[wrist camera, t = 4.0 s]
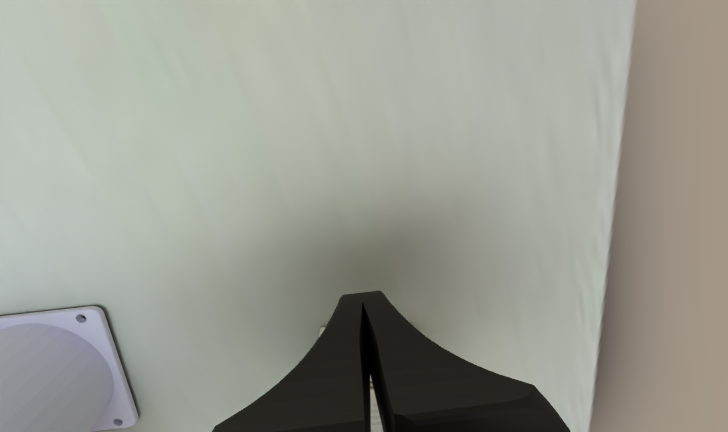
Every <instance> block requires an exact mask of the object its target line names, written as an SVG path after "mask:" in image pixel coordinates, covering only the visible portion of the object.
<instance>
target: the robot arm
mask: <svg viewBox="0 0 728 432" xmlns="http://www.w3.org/2000/svg"><path fill="white" fill-rule="evenodd" d="M81 315H84V316H85V317H86V319H84V318H83V317H82V316H81ZM370 375H371V380H372V384H373V389H374V393H375V397H376V402H377V406H378V410H379V415H380V419H381V423H382V428H383V432H570V430H569V428H568V427H567V426H566V424H565V423H564V421H563V420H562V419H561V417H560V416H559V414H558V413H557V412H556V410H555V409H554V408H553V407H552V405H551V404H550V403H549V402H548V401H547V400H546V398H545V397H544V396H543V395H542V394H541V393H540V392H539V391H538V389H537V388H536V387H535V386H534V385H532V384H528V383H525V382H522V381H519V380H515V379H512V378H509V377H506V376H502V375H499V374H496V373H494V372H491V371H489V370H486V369H484V368H481V367H479V366H477V365H474V364H472V363H470V362H468V361H466V360H464V359H462V358H460V357H458V356H456V355H454V354H452V353H450V352H449V351H447V350H445V349H444V348H442V347H440V346H439V345H437V344H436V343H434V342H433V341H431V340H430V339H428V338H427V337H426V336H424V335H423V334H422V333H421V332H419V331H418V330H417V329H416V328H415V327H414V326H413V325H411V324H410V323H409V322H408V321H407V320H406V319H405V318H404V317H403V316H402V315H401V314H400V313H399V312H398V311H397V310H396V309H395V307H394V306H393V305H392V304H391V303H390V302H389V300H388V299H387V298H386V297H385V295H384V294H383V293H382V292H381V291H373V292H364V293H356V294H347V295H342V297H341V298H340V300H339V302H338V305H337V307H336V309H335V311H334V313H333V315H332V317H331V319H330V321H329V322H328V324H327V326H326V328H325V329H324V331H323V332H322V334H321V335H320V337H319V338H318V340H317V341H316V343H315V344H314V346H313V347H312V348H311V349H310V351H309V352H308V353H307V354H306V356H305V357H304V358H303V359H302V360H301V361H300V363H299V364H298V365H297V366H296V367H295V368H294V369H293V370H292V371H291V372H290V373H289V374H287V375H286V376H285V377H284V378H283V379H282V380H281V381H280V382H279V383H278V384H277V385H275V386H274V387H273V388H272V389H270V390H269V391H268V392H267V393H265V394H264V395H263V396H261V397H260V398H259V399H257V400H256V401H255V402H253V403H252V404H250V405H249V406H247V407H246V408H244V409H243V410H241V411H239V412H238V413H236V414H235V415H233V416H231V417H230V418H228V419H226V420H225V421H223V422H222V423H220V424H218V425H216V426H215V427H214V429H213V431H212V432H371V400H370ZM119 419H120V420H119ZM137 420H138V413H137V410H136V407H135V404H134V401H133V398H132V395H131V392H130V389H129V386H128V383H127V380H126V377H125V374H124V371H123V368H122V365H121V362H120V359H119V356H118V353H117V350H116V347H115V344H114V341H113V338H112V335H111V332H110V329H109V326H108V323H107V320H106V317H105V314H104V312H103V310H102V309H100V308H99V307H96V306H88V307H79V308H70V309H61V310H52V311H43V312H34V313H25V314H16V315H7V316H0V432H94V431H102V430H110V429H118V428H126V427H131V426H133V425H135V423H136V422H137Z"/></svg>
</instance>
